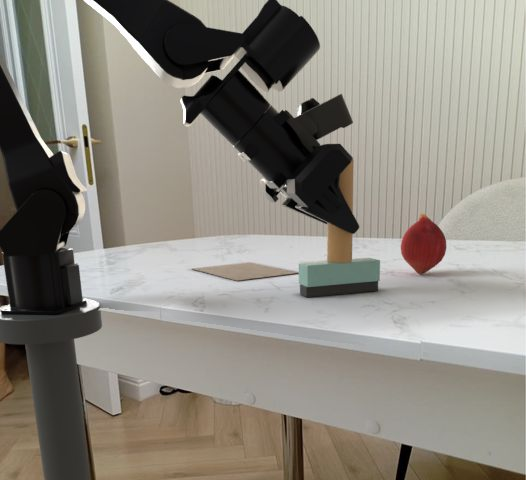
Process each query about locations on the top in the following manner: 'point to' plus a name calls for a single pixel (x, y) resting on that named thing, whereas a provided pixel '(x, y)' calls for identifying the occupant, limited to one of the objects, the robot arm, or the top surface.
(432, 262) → the onion
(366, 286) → the wiper
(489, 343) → the top surface
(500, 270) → the top surface
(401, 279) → the top surface
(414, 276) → the top surface
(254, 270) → the brown flat rectangular panel
